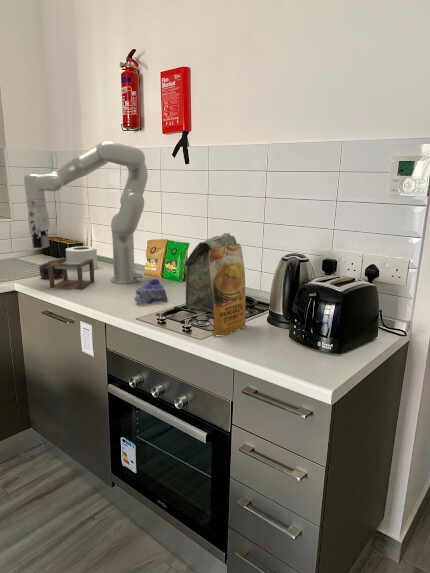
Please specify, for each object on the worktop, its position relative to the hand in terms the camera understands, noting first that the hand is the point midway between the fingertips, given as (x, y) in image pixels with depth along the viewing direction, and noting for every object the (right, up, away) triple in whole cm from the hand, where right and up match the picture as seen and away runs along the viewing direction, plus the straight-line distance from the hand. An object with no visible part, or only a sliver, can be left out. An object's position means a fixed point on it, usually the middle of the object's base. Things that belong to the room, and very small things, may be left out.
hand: (41, 245), depth 190 cm
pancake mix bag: (+79, -32, -45) cm, 97 cm away
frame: (+11, -17, +7) cm, 22 cm away
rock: (-2, -14, +20) cm, 24 cm away
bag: (+75, -25, -18) cm, 81 cm away
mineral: (+49, -24, -15) cm, 57 cm away
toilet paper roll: (+6, -8, +41) cm, 42 cm away
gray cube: (0, -1, 0) cm, 1 cm away
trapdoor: (+12, -9, +5) cm, 15 cm away
